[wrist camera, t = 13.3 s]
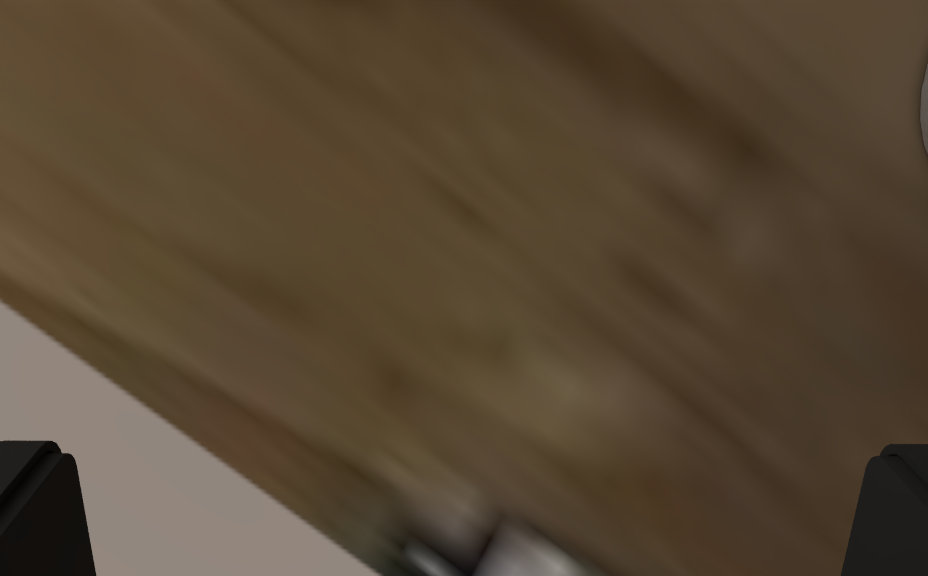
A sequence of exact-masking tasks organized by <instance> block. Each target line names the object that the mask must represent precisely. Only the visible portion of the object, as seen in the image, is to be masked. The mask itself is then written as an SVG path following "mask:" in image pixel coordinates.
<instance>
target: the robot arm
mask: <svg viewBox="0 0 928 576" xmlns="http://www.w3.org/2000/svg"><path fill="white" fill-rule="evenodd" d="M920 122H921V128H922V135H923V141H924V146H925V149H926V151H927V154H928V64H927V69H926V73H925V78H924V82H923V87H922V91H921V111H920ZM0 576H96V572H95V566H94V561H93V555H92V549H91V543H90V538H89V533H88V526H87V521H86V515H85V510H84V504H83V498H82V493H81V487H80V482H79V476H78V470H77V465H76V462H75V459H74V457H73V456H72V455H71V454H69V453H61V449H60V448H59V446H58V445H57V443H55V442H53V441H0ZM841 576H928V444H890V445H888V446H886V447H885V448H884V449H883V450H882V452H881V454H880V456H875V457H873V458H871V459H870V460H869V462H868V464H867V466H866V470H865V474H864V478H863V482H862V487H861V491H860V495H859V500H858V504H857V508H856V513H855V517H854V521H853V525H852V530H851V534H850V538H849V543H848V547H847V551H846V556H845V560H844V564H843V568H842V573H841Z"/></svg>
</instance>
